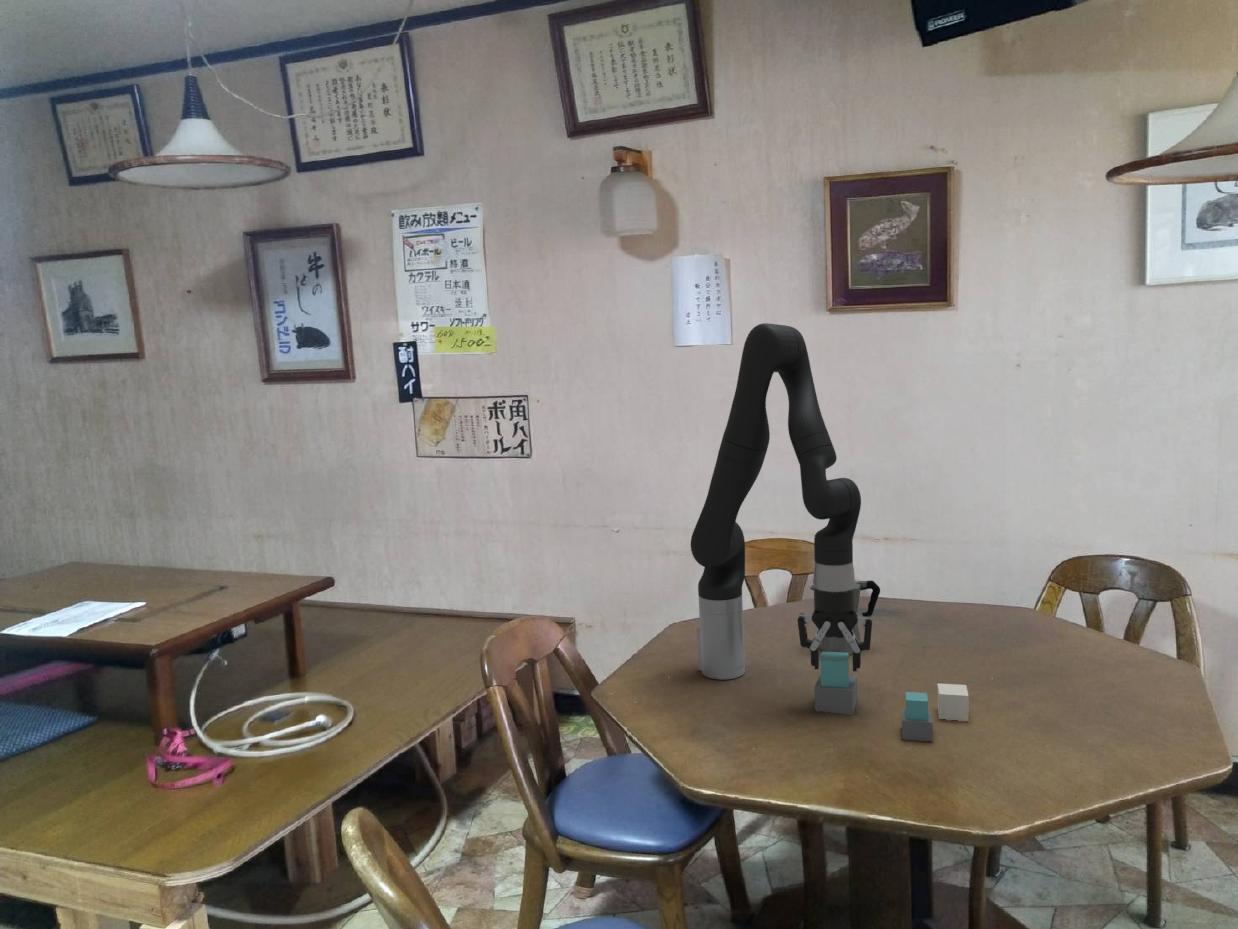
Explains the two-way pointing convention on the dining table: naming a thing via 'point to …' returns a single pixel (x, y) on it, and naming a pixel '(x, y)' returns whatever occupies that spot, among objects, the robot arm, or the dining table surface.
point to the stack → (917, 718)
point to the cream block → (953, 702)
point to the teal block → (835, 669)
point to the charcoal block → (836, 697)
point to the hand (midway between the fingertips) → (835, 668)
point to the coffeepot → (841, 643)
